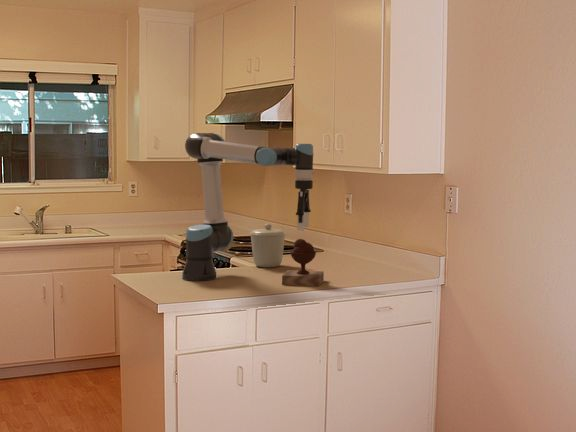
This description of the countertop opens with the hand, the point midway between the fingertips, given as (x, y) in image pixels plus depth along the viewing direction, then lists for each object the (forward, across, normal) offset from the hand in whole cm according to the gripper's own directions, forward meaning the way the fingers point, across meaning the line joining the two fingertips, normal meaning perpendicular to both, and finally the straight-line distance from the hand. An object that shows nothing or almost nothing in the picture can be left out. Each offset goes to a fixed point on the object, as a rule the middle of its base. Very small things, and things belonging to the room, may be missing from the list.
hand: (303, 228), depth 333 cm
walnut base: (+24, 0, 0) cm, 24 cm away
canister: (+24, +41, +24) cm, 53 cm away
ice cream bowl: (+20, 0, 0) cm, 20 cm away
